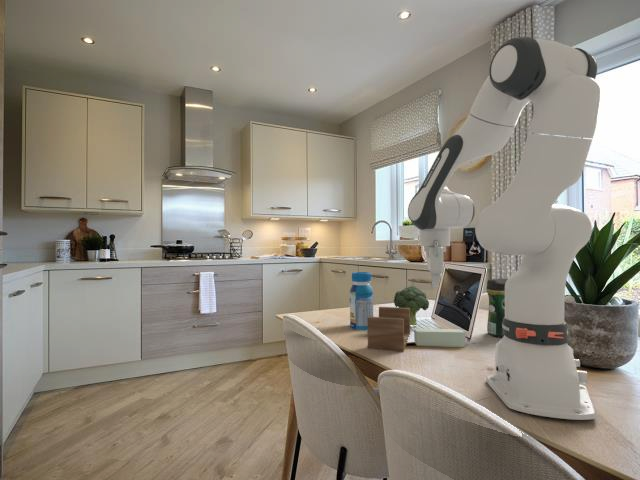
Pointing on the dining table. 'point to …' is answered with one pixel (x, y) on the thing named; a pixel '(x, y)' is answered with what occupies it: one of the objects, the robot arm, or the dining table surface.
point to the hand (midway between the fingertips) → (435, 286)
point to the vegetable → (411, 301)
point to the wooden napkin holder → (389, 329)
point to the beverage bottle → (361, 300)
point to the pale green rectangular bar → (440, 337)
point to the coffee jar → (496, 306)
